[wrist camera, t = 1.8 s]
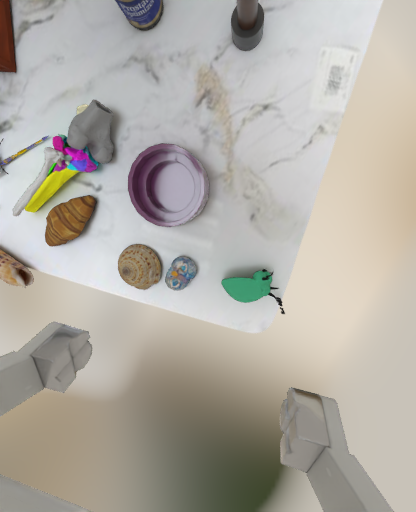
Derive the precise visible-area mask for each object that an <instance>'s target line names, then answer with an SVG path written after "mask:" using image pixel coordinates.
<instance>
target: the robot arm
mask: <svg viewBox="0 0 416 512" xmlns="http://www.w3.org/2000/svg"><path fill="white" fill-rule="evenodd" d="M89 338H90V335H89V332H88V331H85V330H81V329H78V328H75V327H71V326H68V325H65V324H61V323H58V322H52V323H50V324H48V325H47V326H46V327H45V328H44V329H43V330H42V331H40V332H39V333H38V334H37V335H36V336H35V337H34V338H33V339H31V341H29V342H28V343H27V344H26V345H25V346H23V347H22V348H21V349H20V350H19V351H18V352H15V351H13V352H11V353H8V354H6V355H3V356H1V357H0V416H1V415H3V414H5V413H6V412H8V411H10V410H11V409H13V408H14V407H16V406H17V405H19V404H21V403H22V402H24V401H25V400H27V399H28V398H30V397H32V396H33V395H35V394H36V393H38V392H40V391H41V390H43V389H44V387H45V388H48V389H52V390H56V391H59V392H62V393H64V392H65V391H66V389H67V388H68V387H69V386H70V384H71V383H72V382H73V381H74V379H75V378H76V372H77V371H78V370H80V369H82V368H84V367H85V365H86V364H87V363H88V361H89V359H90V356H91V354H92V345H91V344H90V343H89V341H88V339H89ZM280 428H281V430H282V432H283V434H284V435H283V437H282V439H281V441H280V445H281V464H283V465H286V466H289V467H292V468H295V469H298V470H301V471H303V472H306V473H307V476H308V478H309V481H310V483H311V485H312V487H313V489H314V491H315V494H316V496H317V498H318V500H319V502H320V504H321V506H322V508H323V510H324V512H394V511H393V510H392V508H391V507H390V506H389V504H388V503H387V501H386V500H385V499H384V497H383V496H382V494H381V493H380V491H379V490H378V489H377V487H376V486H375V484H374V483H373V482H372V480H371V479H370V477H369V476H368V475H367V473H366V472H365V470H364V469H363V467H362V466H361V465H360V463H359V462H358V461H357V459H356V458H355V456H353V455H351V454H349V451H348V447H347V443H346V439H345V434H344V430H343V426H342V422H341V418H340V414H339V409H338V405H337V402H336V401H335V400H334V399H332V398H328V397H324V396H320V395H318V394H315V393H311V392H307V391H303V390H299V389H295V388H292V387H291V388H289V390H288V392H287V399H285V400H284V401H283V404H282V407H281V412H280ZM0 512H93V511H90V510H88V509H86V508H83V507H81V506H78V505H76V504H73V503H71V502H68V501H66V500H63V499H60V498H58V497H55V496H53V495H50V494H48V493H45V492H43V491H41V490H38V489H35V488H33V487H31V486H28V485H26V484H23V483H21V482H18V481H15V480H13V479H10V478H8V477H5V476H3V475H0Z"/></svg>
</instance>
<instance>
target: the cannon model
mask: <svg viewBox="0 0 416 512" xmlns="http://www.w3.org/2000/svg"><path fill="white" fill-rule="evenodd" d="M0 72H16V65H15V55H14V44H13V34H12V24H11V14H10V4H9V0H0Z"/></svg>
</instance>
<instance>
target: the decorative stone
mask: <svg viewBox="0 0 416 512" xmlns="http://www.w3.org/2000/svg"><path fill="white" fill-rule="evenodd" d="M195 275H196V266H195V264H194V263H193V262H192V261H191V260H190V259H189V258H187V257H178V258H176V259H175V260H174V261H173V263H172V267H171V268H170V269H169V271H168V272H167V275H166V277H165V282H166V284H167V286H168V287H169V288H171V289H173V290H182V289H184V288H185V287H186V286H187V284H188V283H189V281H190V279H193V278H194V277H195Z"/></svg>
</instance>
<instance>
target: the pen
mask: <svg viewBox="0 0 416 512" xmlns="http://www.w3.org/2000/svg"><path fill="white" fill-rule="evenodd" d="M47 137H48V136H47ZM47 137H44V138H42V139H41V140H40V141H38V142H36V143H34V144H33V145H31V146H29V147H27V148H25V149H23V150H21V151H19V152H18V153H17V154H15V155H13V156H11V157H9V158H7V159H5V160H3V161H2V162H1V163H0V164H1V166H2V165H4V164H7V163H8V162H10V161H11V160H13V159H14V158H16V156H18V155H20V154H22V153H24V152H25V151H27V150H28V149H30V148H31V147H33V146H34V145H36V144H37V143H39V142H41V141H42V140H45V139H46V138H47Z"/></svg>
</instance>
